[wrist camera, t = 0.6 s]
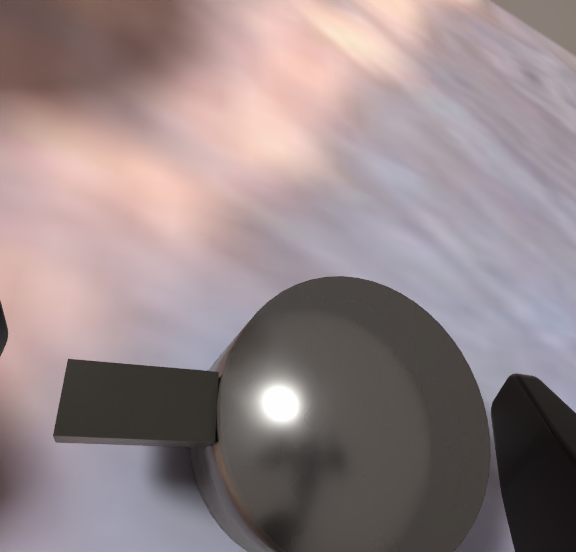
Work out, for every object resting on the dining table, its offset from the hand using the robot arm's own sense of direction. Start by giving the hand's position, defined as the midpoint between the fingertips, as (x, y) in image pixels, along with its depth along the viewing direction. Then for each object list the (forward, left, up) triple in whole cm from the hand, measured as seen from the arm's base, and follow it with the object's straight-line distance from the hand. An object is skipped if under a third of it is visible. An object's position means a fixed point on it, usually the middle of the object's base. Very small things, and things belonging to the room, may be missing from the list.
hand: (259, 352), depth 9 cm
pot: (+1, -4, -14) cm, 15 cm away
